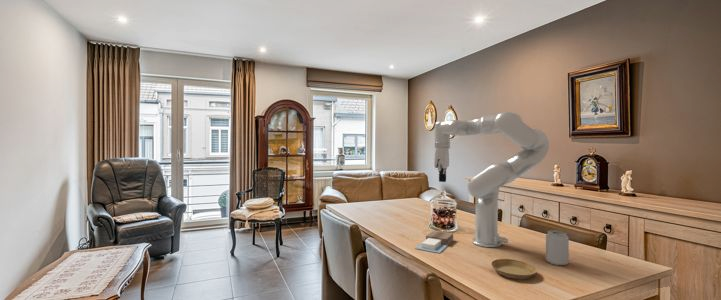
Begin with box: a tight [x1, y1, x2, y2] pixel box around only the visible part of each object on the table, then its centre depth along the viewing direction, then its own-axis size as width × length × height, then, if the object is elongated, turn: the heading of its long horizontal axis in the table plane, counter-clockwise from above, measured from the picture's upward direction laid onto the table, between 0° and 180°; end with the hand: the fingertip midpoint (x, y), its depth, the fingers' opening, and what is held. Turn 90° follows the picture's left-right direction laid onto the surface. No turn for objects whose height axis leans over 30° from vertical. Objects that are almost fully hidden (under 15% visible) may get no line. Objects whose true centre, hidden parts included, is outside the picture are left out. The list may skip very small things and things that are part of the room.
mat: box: [414, 243, 449, 254], centre depth 141 cm, size 11×11×1 cm
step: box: [425, 230, 454, 245], centre depth 150 cm, size 10×10×3 cm
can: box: [545, 229, 570, 266], centre depth 122 cm, size 8×8×12 cm
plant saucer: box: [490, 258, 538, 280], centre depth 113 cm, size 15×15×3 cm
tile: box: [420, 238, 441, 250], centre depth 142 cm, size 6×9×2 cm, turn 147°
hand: (442, 181), depth 161 cm, fingers closed
